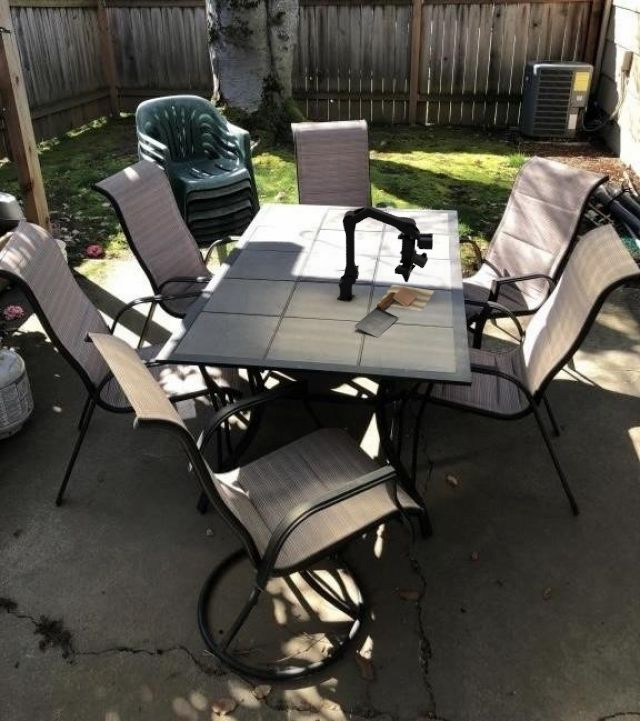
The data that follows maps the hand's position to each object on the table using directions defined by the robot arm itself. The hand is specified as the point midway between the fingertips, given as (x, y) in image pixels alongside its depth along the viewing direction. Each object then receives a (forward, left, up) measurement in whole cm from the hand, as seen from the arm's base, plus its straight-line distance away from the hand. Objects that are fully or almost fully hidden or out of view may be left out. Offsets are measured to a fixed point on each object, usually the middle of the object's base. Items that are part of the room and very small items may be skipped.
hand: (406, 281), depth 289 cm
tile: (+2, -1, -6) cm, 6 cm away
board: (+1, 0, -9) cm, 9 cm away
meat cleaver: (-20, +3, -8) cm, 22 cm away
